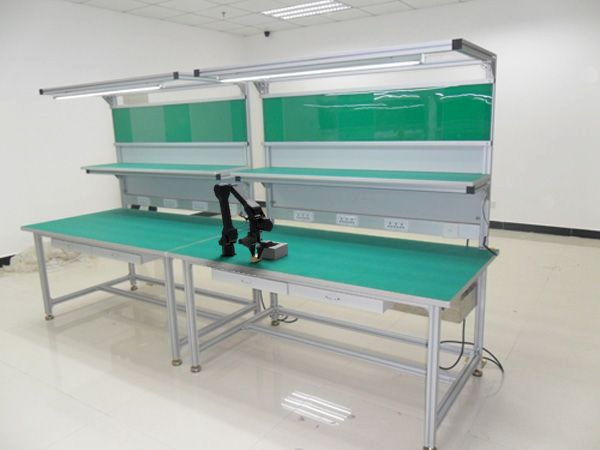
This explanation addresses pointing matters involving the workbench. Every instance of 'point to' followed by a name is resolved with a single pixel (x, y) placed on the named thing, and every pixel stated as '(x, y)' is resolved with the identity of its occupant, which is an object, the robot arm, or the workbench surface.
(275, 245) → the slot box
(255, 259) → the tall cream wooden block
